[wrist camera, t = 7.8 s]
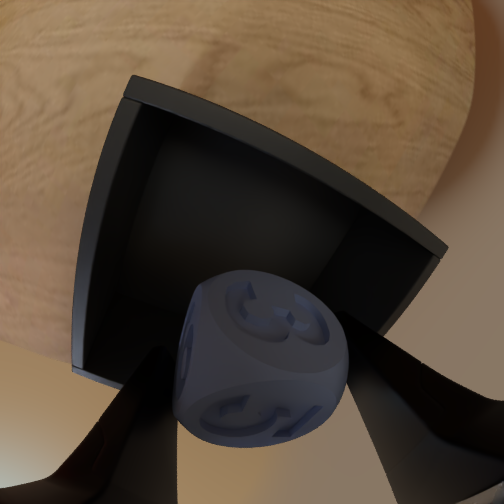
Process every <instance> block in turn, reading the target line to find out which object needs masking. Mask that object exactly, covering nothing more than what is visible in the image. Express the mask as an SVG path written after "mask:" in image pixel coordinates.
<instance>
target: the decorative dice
mask: <svg viewBox="0 0 504 504" xmlns="http://www.w3.org/2000/svg"><path fill="white" fill-rule="evenodd" d="M348 369H349V353H348V346H347V341H346V337H345V334H344V331H343V328H342V326H341V324H340V323H339V321H338V319H337V318H336V316H335V315H334V314H333V313H332V311H331V310H330V309H329V308H328V307H327V306H326V305H325V304H324V303H323V302H322V301H321V300H319V299H318V298H317V297H316V296H314V295H313V294H312V293H310V292H309V291H307V290H306V289H304V288H302V287H301V286H299V285H297V284H295V283H293V282H291V281H289V280H287V279H284V278H282V277H279V276H276V275H273V274H270V273H266V272H261V271H254V270H235V271H230V272H226V273H223V274H220V275H217V276H215V277H212V278H210V279H208V280H206V281H204V282H202V283H201V284H199V285H198V286H197V287H196V289H195V291H194V294H193V296H192V299H191V302H190V304H189V308H188V311H187V314H186V318H185V322H184V325H183V329H182V334H181V338H180V343H179V348H178V353H177V359H176V365H175V372H174V382H173V393H172V410H173V415H174V416H175V417H176V419H177V420H178V421H179V422H180V423H181V424H182V425H183V426H184V427H185V428H186V429H187V430H188V431H189V432H190V433H192V434H193V435H194V436H196V437H198V438H199V439H201V440H203V441H206V442H209V443H212V444H216V445H221V446H226V447H238V448H252V447H263V446H270V445H275V444H279V443H283V442H287V441H290V440H293V439H296V438H298V437H301V436H303V435H305V434H307V433H309V432H311V431H313V430H314V429H316V428H318V427H319V426H320V425H322V424H323V423H324V422H325V421H326V420H327V419H328V418H329V417H330V416H331V415H332V413H333V412H334V410H335V409H336V407H337V405H338V403H339V402H340V399H341V397H342V395H343V392H344V389H345V386H346V382H347V377H348Z"/></svg>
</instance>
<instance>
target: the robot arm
mask: <svg viewBox="0 0 504 504" xmlns="http://www.w3.org/2000/svg"><path fill="white" fill-rule="evenodd" d="M333 314H334V315H335V316H336V318H337V319H338V321H339V323H340V324H341V326H342V328H343V331H344V334H345V337H346V341H347V346H348V353H349V369H348V377H347V382H346V383H347V385H348V387H349V389H350V392H351V394H352V396H353V398H354V401H355V402H356V405H357V407H358V409H359V411H360V414H361V416H362V419H363V421H364V423H365V425H366V428H367V430H368V432H369V435H370V437H371V439H372V442H373V444H374V446H375V449H376V451H377V454H378V456H379V458H380V461H381V463H382V465H383V468H384V470H385V473H386V476H387V478H388V481H389V483H390V485H391V488H392V491H393V493H394V496H395V498H396V501H397V503H398V504H504V401H499V400H493V399H489V398H486V397H484V396H482V395H480V394H477V393H476V392H473V391H472V390H469V389H467V388H466V387H463V386H462V385H460V384H458V383H456V382H453V381H452V380H450V379H448V378H446V377H445V376H443V375H441V374H440V373H438V372H436V371H435V370H433V369H431V368H430V367H428V366H427V365H425V364H424V363H422V364H421V361H419V360H418V359H416V358H415V357H413V356H412V355H410V354H409V353H407V352H406V351H404V350H403V349H401V348H399V347H398V346H396V345H395V344H393V343H392V342H390V341H389V340H387V339H386V338H384V337H383V336H381V335H380V334H378V333H377V332H375V331H374V330H372V329H371V328H369V327H368V326H366V325H365V324H363V323H362V322H360V321H359V320H357V319H356V318H354V317H353V316H351V315H350V314H348V313H347V312H345V311H343V310H341V311H337V312H333ZM174 372H175V362H174V360H173V358H172V356H171V354H170V353H169V351H168V349H167V347H166V346H164V345H161V346H154V347H153V348H152V349H151V350H150V351H149V353H148V354H147V355H146V357H145V358H144V359H143V361H142V362H141V363H140V365H139V366H138V367H137V369H136V370H135V371H134V373H133V374H132V375H131V377H130V378H129V379H128V381H127V382H126V383H125V385H124V386H123V387H122V389H121V390H120V391H119V393H118V394H117V395H116V397H115V398H114V399H113V401H112V402H111V404H110V405H109V406H108V408H107V409H106V410H105V412H104V413H103V414H102V416H101V417H100V419H99V421H98V422H96V424H95V425H94V427H93V428H92V430H91V431H90V432H89V433H88V435H87V436H86V437H85V439H84V440H83V441H82V442H81V443H80V445H79V446H78V447H77V448H76V449H75V450H74V452H73V453H72V454H71V455H70V456H69V457H68V458H67V459H66V460H65V462H64V463H63V464H62V465H61V466H60V467H59V468H58V470H56V471H55V472H54V473H53V474H52V475H50V476H49V477H47V478H45V479H42V480H38V481H34V482H30V483H26V484H21V485H17V486H12V487H7V488H0V504H178V502H177V422H178V420H177V419H176V417H175V416H174V415H173V410H172V393H173V382H174Z"/></svg>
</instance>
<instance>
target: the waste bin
mask: <svg viewBox="0 0 504 504" xmlns="http://www.w3.org/2000/svg"><path fill="white" fill-rule="evenodd" d="M123 96H124V97H123V98H122V99H121V101H120V103H119V106H118V108H117V111H116V113H115V116H114V118H113V121H112V124H111V126H110V129H109V132H108V135H107V137H106V140H105V143H104V146H103V149H102V152H101V156H100V159H99V162H98V166H97V169H96V173H95V176H94V180H93V184H92V187H91V191H90V195H89V200H88V204H87V208H86V213H85V218H84V223H83V228H82V233H81V239H80V245H79V252H78V258H77V266H76V274H75V284H74V295H73V309H72V343H71V345H72V372H74V373H76V374H79V375H81V376H84V377H86V378H89V379H91V380H94V381H96V382H99V383H102V384H105V385H108V386H110V387H113V388H116V389H119V390H121V389H122V387H123V386H124V385H125V383H126V382H127V381H128V379H129V378H130V377H131V375H132V374H133V373H134V371H135V370H136V369H137V367H138V366H139V365H140V363H141V362H142V361H143V359H144V358H145V357H146V355H147V354H148V353H149V351H150V350H151V349H152V348H153V347H154V346H161V345H164V346H166V347H167V349H168V351H169V353H170V354H171V356H172V358H173V360H174V362H175V365H176V359H177V353H178V348H179V343H180V338H181V334H182V329H183V325H184V322H185V318H186V314H187V311H188V308H189V304H190V302H191V299H192V296H193V294H194V291H195V289H196V287H197V286H198V285H199V284H201V283H202V282H204V281H206V280H208V279H210V278H212V277H215V276H217V275H220V274H223V273H226V272H230V271H235V270H254V271H261V272H266V273H270V274H273V275H276V276H279V277H282V278H284V279H287V280H289V281H291V282H293V283H295V284H297V285H299V286H301V287H302V288H304V289H306V290H307V291H309V292H310V293H312V294H313V295H314V296H316V297H317V298H318V299H319V300H321V301H322V302H323V303H324V304H325V305H326V306H327V307H328V308H329V309H330V310H331V311H332V313H333V312H337V311H341V310H343V311H345V312H347V313H348V314H350V315H351V316H353V317H354V318H356V319H357V320H359V321H360V322H362V323H363V324H365V325H366V326H368V327H369V328H371V329H372V330H374V331H375V332H377V333H378V334H380V335H381V336H384V335H385V334H386V333H387V332H388V330H389V329H390V328H391V327H392V326H393V325H394V323H395V322H396V321H397V320H398V318H399V317H400V316H401V315H402V313H403V312H404V311H405V309H406V308H407V307H408V306H409V304H410V303H411V302H412V300H413V299H414V298H415V297H416V295H417V294H418V292H419V291H420V290H421V288H422V287H423V286H424V284H425V282H426V281H427V280H428V278H429V277H430V276H431V274H432V273H433V271H434V269H435V268H436V267H437V265H438V264H439V262H440V259H442V258H443V256H444V254H445V253H446V251H447V250H448V246H447V245H446V244H445V243H444V242H443V241H441V240H440V239H439V238H438V237H437V236H435V235H434V234H433V233H432V232H430V231H429V230H428V229H427V228H425V227H424V226H423V225H422V224H420V223H419V222H418V221H417V220H415V219H414V218H413V217H411V216H410V215H409V214H407V213H406V212H405V211H403V210H402V209H401V208H399V207H398V206H397V205H395V204H394V203H393V202H391V201H390V200H388V199H387V198H385V197H384V196H383V195H381V194H380V193H378V192H377V191H375V190H374V189H372V188H371V187H369V186H368V185H366V184H365V183H363V182H362V181H360V180H359V179H357V178H356V177H354V176H353V175H351V174H350V173H348V172H346V171H345V170H343V169H342V168H340V167H338V166H337V165H335V164H333V163H332V162H330V161H328V160H327V159H325V158H323V157H322V156H320V155H318V154H316V153H315V152H313V151H311V150H309V149H308V148H306V147H304V146H302V145H300V144H299V143H297V142H295V141H293V140H291V139H289V138H287V137H285V136H284V135H282V134H280V133H278V132H276V131H274V130H272V129H270V128H268V127H266V126H264V125H262V124H260V123H258V122H255V121H253V120H251V119H249V118H247V117H245V116H243V115H240V114H238V113H236V112H234V111H231V110H229V109H227V108H225V107H222V106H220V105H218V104H215V103H213V102H210V101H208V100H205V99H203V98H200V97H198V96H195V95H193V94H190V93H187V92H185V91H182V90H179V89H176V88H174V87H171V86H168V85H165V84H162V83H159V82H156V81H153V80H150V79H146V78H143V77H140V76H137V75H132V76H131V78H130V80H129V82H128V84H127V87H126V89H125V91H124V93H123Z"/></svg>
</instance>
